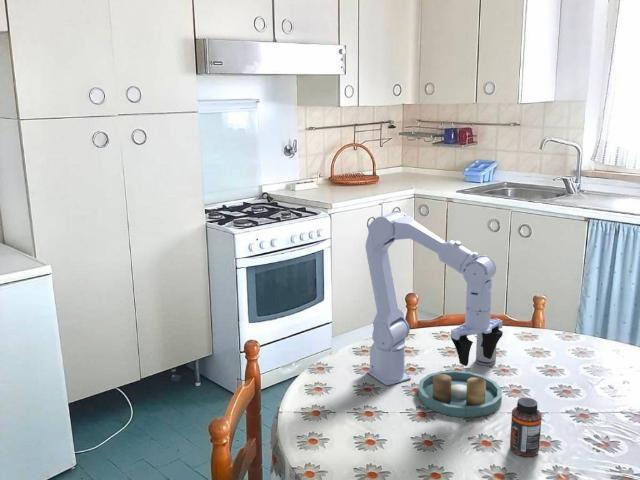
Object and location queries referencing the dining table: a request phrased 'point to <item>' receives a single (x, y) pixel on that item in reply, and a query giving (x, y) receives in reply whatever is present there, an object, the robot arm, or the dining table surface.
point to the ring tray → (460, 395)
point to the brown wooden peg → (442, 388)
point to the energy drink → (479, 353)
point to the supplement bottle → (525, 427)
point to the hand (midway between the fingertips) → (475, 360)
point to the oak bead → (475, 392)
